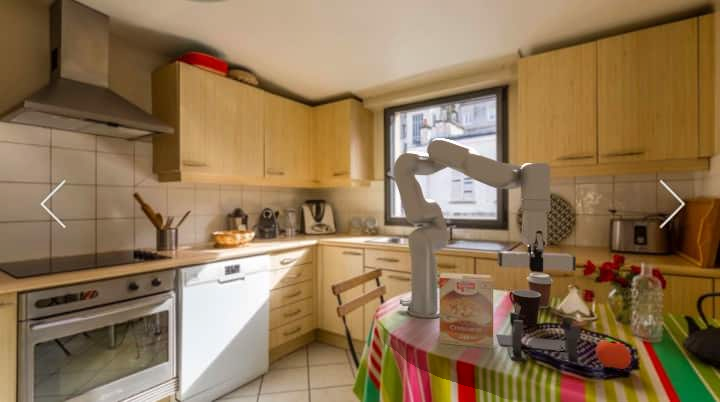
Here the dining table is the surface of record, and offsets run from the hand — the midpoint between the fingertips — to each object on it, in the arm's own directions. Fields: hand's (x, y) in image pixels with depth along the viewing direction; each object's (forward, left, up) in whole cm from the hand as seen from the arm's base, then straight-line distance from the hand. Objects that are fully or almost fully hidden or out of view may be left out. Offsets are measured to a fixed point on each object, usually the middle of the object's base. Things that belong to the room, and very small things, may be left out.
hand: (534, 269), depth 94 cm
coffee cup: (+10, +38, -22) cm, 45 cm away
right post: (+7, -8, -22) cm, 24 cm away
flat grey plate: (0, 0, -22) cm, 22 cm away
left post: (-6, -8, -22) cm, 24 cm away
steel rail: (0, 0, +1) cm, 1 cm away
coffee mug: (+1, +19, -22) cm, 29 cm away
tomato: (+15, -9, -22) cm, 28 cm away
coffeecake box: (-19, -3, -22) cm, 29 cm away
